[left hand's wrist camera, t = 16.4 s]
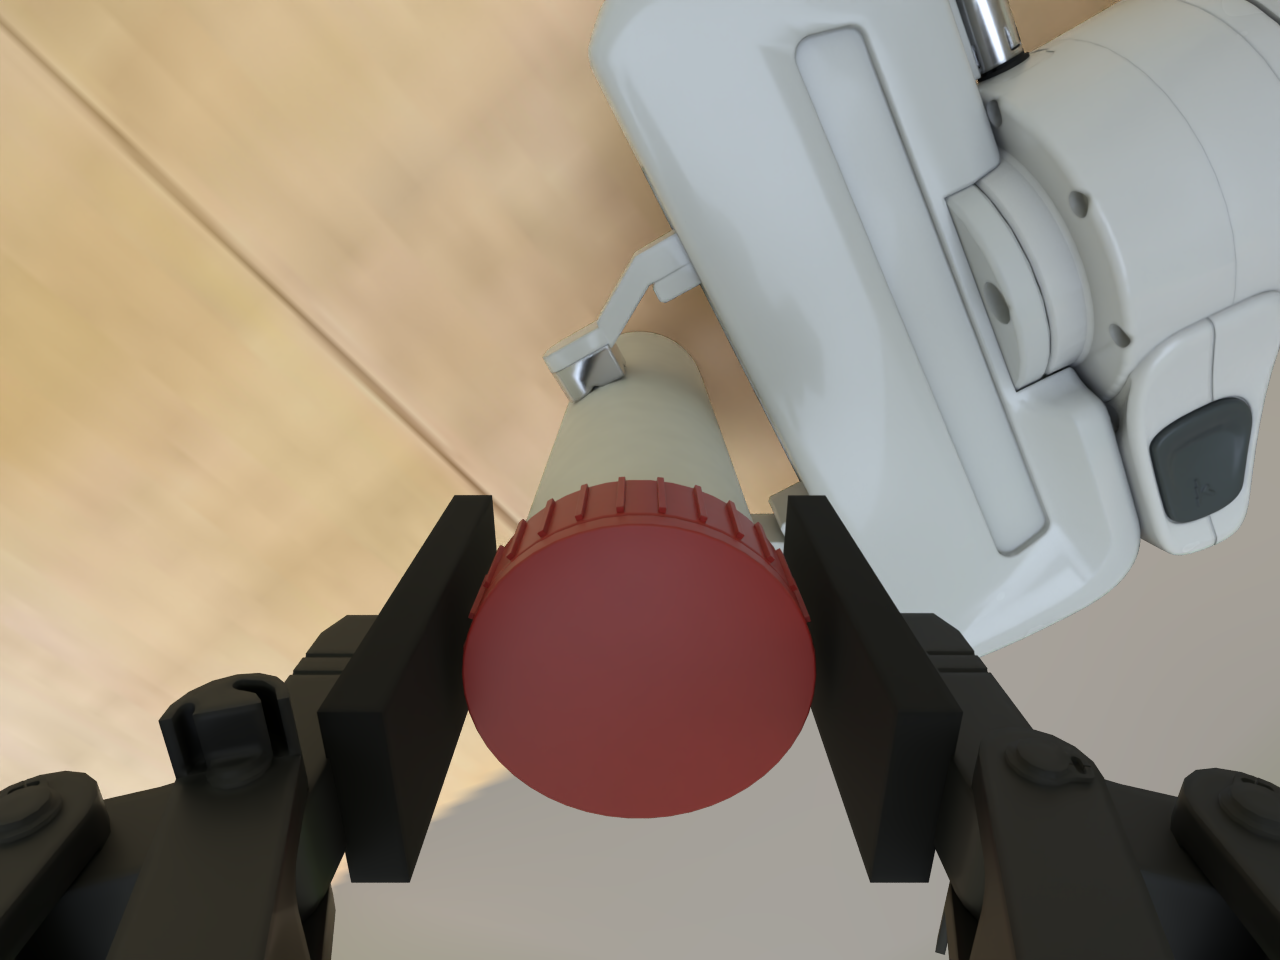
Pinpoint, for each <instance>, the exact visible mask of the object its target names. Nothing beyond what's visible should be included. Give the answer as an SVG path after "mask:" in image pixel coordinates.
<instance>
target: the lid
mask: <svg viewBox="0 0 1280 960" xmlns="http://www.w3.org/2000/svg"><path fill="white" fill-rule="evenodd" d="M468 618H470V619H473V621H472V623H471V626H470V629H469V631H468V634H467V638H466V641H465V643H464V646H463V651H464V652H463V663H462V679H463V688H464V695H465V698H466V702H467V706H468V710H469V713H470V715H471V718H472V720H473V722H474V725H475V727H476V729H477V731H478V733H479V734H480V736H481V738H482V739H483V741H484V742H485V744H486V746H487V747H488V748H489V750H490V751H491V752H492V753H493V754H494V756H495V757H496V758H497V759H498V761H499V762H500V763H501V764H502V765H504V766H505V767H506V768H507V769H508V770H509V771H510V772H511V773H512V774H513V775H514V776H516V777H517V778H518V779H520V780H521V781H522V782H524V783H525V784H526V785H528V786H529V787H531V788H532V789H534V790H536V791H538V792H539V793H541V794H543V795H545V796H546V797H548V798H550V799H553V800H555V801H557V802H560V803H562V804H564V805H567V806H570V807H573V808H576V809H579V810H582V811H585V812H590V813H595V814H599V815H604V816H611V817H621V818H657V817H668V816H674V815H679V814H684V813H689V812H693V811H696V810H699V809H703V808H706V807H709V806H712V805H714V804H717V803H719V802H721V801H724V800H726V799H728V798H730V797H732V796H734V795H736V794H737V793H739V792H741V791H743V790H744V789H746V788H748V787H749V786H751V785H752V784H753V783H755V782H756V781H757V780H759V779H760V778H762V777H763V776H764V775H765V774H766V773H767V772H769V771H770V770H771V769H772V768H773V767H774V766H775V765H776V764H777V763H778V762H779V761H780V760H781V759H782V757H783V756H784V755H785V754H786V752H787V751H788V750H789V749H790V748H791V746H792V744H793V743H794V741H795V740H796V738H797V737H798V735H799V733H800V732H801V730H802V728H803V725H804V723H805V721H806V718H807V716H808V714H809V711H810V707H811V703H812V700H813V696H814V691H815V682H816V657H815V648H814V645H813V641H812V636H811V633H810V631H809V628H808V625H807V622H811V620H810V616H809V614H808V611H807V609H806V606H805V604H804V602H803V599H802V597H801V594H800V592H799V589H798V587H797V584H796V582H795V580H794V578H793V577H792V574H791V572H790V569H789V567H788V564H787V562H786V560H785V557H784V555H783V552H782V551H781V549H780V548H779V549H777V550H775V548H774V547H773V545H772V544H771V543H770V541H769V540H768V539H767V537H766V535H765V532H764V529H763V527H762V525H761V524H760V523H759V522H757V523H756V524H754V523H752V522H751V521H750V520H749V519H748V518H747V517H746V516H744V515H743V514H742V513H740V512H739V511H738V510H736V506H735V503H734V502H732V501H730V500H729V501H728V502H727V503H725V502H723V501H722V500H720V499H718V498H716V497H714V496H712V495H710V494H707V493H705V492H702V489H701V486H698V485H695V486H694V488H691V487H687V486H683V485H679V484H675V483H670V482H664V478H663V477H657V481H654V480H625V477H619V478H618V481H616V482H608V483H603V484H599V485H595V486H591V487H588V484H584V485H581V488H580V490H579V491H576V492H574V493H571V494H569V495H566V496H564V497H562V498H561V499H559V500H557V501H554V499H553V498H552V499H550V500H548V501H547V504H546V507H545V508H544V509H542V510H541V511H539V512H538V513H537V514H535V515H534V516H533V517H531V518H530V519H529V520H528V521H527V522H526V521H525V520H524V519H522V520H521V521H520V522H519V524H518V527H517V529H516V532H515V534H514V536H513V537H512V538H511V539H510V541H509V542H508V543H507V545H506V546H505V547H503V546H502V545H500V546H499V548H498V550H497V552H496V555H495V557H494V559H493V562H492V564H491V567H490V569H489V572H488V574H486V575H485V578H484V580H483V582H482V585H481V587H480V590H479V592H478V594H477V597H476V599H475V602H474V604H473V606H472V609H471V611H470V614H469V617H468Z"/></svg>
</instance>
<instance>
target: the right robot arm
mask: <svg viewBox="0 0 1280 960" xmlns="http://www.w3.org/2000/svg"><path fill="white" fill-rule="evenodd" d="M588 59H589V63H590V67H591V69H592V72H593V74H594V76H595V78H596V80H597V82H598V84H599V86H600V88H601V90H602V92H603V94H604V96H605V98H606V100H607V102H608V104H609V106H610V108H611V110H612V112H613V114H614V116H615V118H616V120H617V122H618V123H619V125H620V127H621V129H622V131H623V133H624V135H625V137H626V139H627V141H628V143H629V145H630V147H631V149H632V151H633V153H634V155H635V157H636V159H637V161H638V163H639V165H640V167H641V169H642V171H643V173H644V175H645V177H646V179H647V181H648V183H649V185H650V187H651V189H652V191H653V193H654V195H655V197H656V198H657V200H658V202H659V204H660V206H661V208H662V210H663V212H664V214H665V216H666V218H667V220H668V222H669V224H670V226H671V228H672V230H671V231H670V232H668V233H666V234H665V235H663V236H661V237H659V238H658V239H656V240H654V241H653V242H651V243H649V244H648V245H646V246H644V247H643V248H641V249H639V250H637V251H636V252H635V253H634V255H633V256H632V258H631V260H630V262H629V263H628V265H627V267H626V269H625V270H624V272H623V274H622V276H621V277H620V279H619V281H618V283H617V284H616V286H615V288H614V289H613V291H612V293H611V295H610V296H609V298H608V300H607V302H606V303H605V305H604V307H603V309H602V310H601V312H600V314H599V317H598V320H596V321H594V322H593V323H591V324H589V325H587V326H586V327H584V328H582V329H580V330H579V331H577V332H575V333H573V334H572V335H570V336H568V337H566V338H565V339H563V340H561V341H559V342H558V343H557V344H555V345H554V346H552V347H551V348H550V349H548V350H547V351H546V353H545V354H544V356H543V359H544V361H545V363H546V365H547V366H548V368H549V370H550V372H551V373H552V374H553V376H554V377H555V379H556V381H557V382H558V384H559V385H560V387H561V388H562V390H563V392H564V393H565V395H566V396H567V398H568V400H569V401H570V402H571V403H573V402H576V401H578V400H581V399H582V398H584V397H586V396H587V395H588V394H590V392H591V390H592V388H593V386H600V387H603V386H605V385H608V384H610V383H612V382H614V381H615V380H617V379H619V378H621V377H623V376H624V375H625V368H624V367H626V361H625V359H624V357H623V355H622V354H621V352H620V350H619V348H618V346H617V344H616V341H617V339H618V337H619V336H620V334H621V332H622V330H623V329H624V327H625V325H626V324H627V322H628V320H629V319H630V317H631V315H632V314H633V312H634V310H635V309H636V307H637V305H638V304H639V302H640V300H641V299H642V297H643V295H644V294H645V292H646V290H647V289H648V287H649V285H651V284H652V285H653V290H654V292H655V294H656V295H657V297H658V299H659V301H660V302H664V303H666V302H668V301H670V300H672V299H674V298H675V297H677V296H679V295H681V294H683V293H685V292H687V291H688V290H690V289H692V288H694V287H696V286H698V285H701V287H702V289H703V291H704V293H705V295H706V297H707V299H708V301H709V303H710V305H711V307H712V309H713V311H714V313H715V315H716V317H717V319H718V321H719V323H720V325H721V327H722V329H723V331H724V333H725V335H726V337H727V339H728V341H729V343H730V345H731V346H732V348H733V350H734V352H735V354H736V356H737V358H738V360H739V362H740V364H741V366H742V368H743V370H744V372H745V374H746V376H747V378H748V380H749V382H750V384H751V386H752V388H753V390H754V392H755V394H756V396H757V398H758V400H759V402H760V404H761V406H762V408H763V410H764V412H765V414H766V416H767V418H768V420H769V421H770V423H771V425H772V427H773V429H774V431H775V433H776V435H777V437H778V439H779V441H780V443H781V445H782V447H783V449H784V451H785V453H786V455H787V457H788V459H789V461H790V463H791V465H792V467H793V469H794V471H795V473H796V475H797V477H798V479H799V481H800V482H798V483H796V484H794V485H792V486H790V487H788V488H786V489H784V490H782V491H780V492H778V493H776V494H774V495H772V496H770V498H769V503H770V506H771V508H772V510H773V512H774V514H750V515H751V518H752V521H753V523H754V524H756V523H757V522H759V523H760V524H761V525H762V527H763V529H764V532H765V535H766V537H767V539H768V540H769V541H770V543H771V544H772V545H773V547H774V548H775V550H777V549H779V548H780V549H781V551H782V552H783V550H784V538H785V525H786V513H787V501H788V495H826V497H827V499H828V500H829V502H830V503H831V505H832V506H833V508H834V510H835V511H836V513H837V514H838V516H839V517H840V519H841V521H842V522H843V524H844V525H845V527H846V528H847V530H848V532H849V533H850V535H851V536H852V538H853V539H854V541H855V543H856V544H857V546H858V547H859V549H860V550H861V552H862V554H863V555H864V557H865V558H866V560H867V561H868V563H869V565H870V566H871V568H872V569H873V571H874V572H875V574H876V576H877V577H878V579H879V580H880V582H881V583H882V585H883V587H884V588H885V590H886V591H887V593H888V594H889V596H890V598H891V599H892V601H893V602H894V604H895V605H896V607H897V609H898V610H899V612H900V613H934V614H936V615H937V616H938V617H940V618H941V619H943V620H944V621H946V622H947V623H949V624H950V625H952V626H953V627H955V628H956V629H957V630H959V631H960V632H961V634H962V635H963V636H964V638H965V639H966V640H967V642H968V643H969V644H970V646H971V647H972V648H973V650H974V653H975V655H978V657H979V658H980V657H982V656H984V655H987V654H989V653H992V652H994V651H997V650H999V649H1001V648H1003V647H1006V646H1008V645H1010V644H1012V643H1015V642H1017V641H1019V640H1021V639H1023V638H1026V637H1028V636H1030V635H1032V634H1034V633H1036V632H1038V631H1040V630H1042V629H1045V628H1047V627H1049V626H1051V625H1053V624H1055V623H1056V622H1058V621H1061V620H1062V619H1064V618H1066V617H1068V616H1070V615H1072V614H1074V613H1076V612H1078V611H1080V610H1081V609H1083V608H1085V607H1087V606H1089V605H1090V604H1092V603H1094V602H1095V601H1097V600H1098V599H1100V598H1101V597H1103V596H1104V595H1105V594H1107V593H1108V592H1109V591H1110V590H1112V589H1113V588H1114V587H1115V586H1116V585H1117V584H1118V583H1119V582H1120V581H1121V580H1122V579H1123V578H1124V577H1125V576H1126V574H1127V573H1128V572H1129V570H1130V568H1131V567H1132V565H1133V564H1134V562H1135V559H1136V557H1137V554H1138V551H1139V547H1140V538H1141V539H1143V540H1145V541H1147V542H1149V543H1150V544H1152V545H1154V546H1156V547H1158V548H1160V549H1162V550H1164V551H1166V552H1168V553H1170V554H1173V555H1187V554H1191V553H1194V552H1198V551H1201V550H1204V549H1206V548H1208V547H1211V546H1213V545H1216V544H1218V543H1220V542H1222V541H1223V540H1225V539H1227V538H1228V537H1230V536H1231V535H1233V534H1234V533H1235V532H1236V531H1237V530H1238V529H1239V527H1240V526H1241V525H1242V523H1243V521H1244V519H1245V516H1246V513H1247V509H1248V504H1249V497H1250V490H1251V482H1252V474H1253V466H1254V459H1255V452H1256V445H1257V439H1258V433H1259V427H1260V421H1261V416H1262V411H1263V406H1264V402H1265V397H1266V393H1267V389H1268V385H1269V381H1270V377H1271V373H1272V370H1273V367H1274V364H1275V361H1276V357H1277V354H1278V351H1279V348H1280V0H1121V1H1119V2H1117V3H1115V4H1114V5H1112V6H1110V7H1108V8H1107V9H1105V10H1103V11H1102V12H1100V13H1098V14H1096V15H1095V16H1093V17H1091V18H1089V19H1088V20H1086V21H1084V22H1082V23H1081V24H1079V25H1077V26H1075V27H1074V28H1072V29H1070V30H1069V31H1067V32H1065V33H1063V34H1062V35H1060V36H1058V37H1056V38H1055V39H1053V40H1051V41H1049V42H1048V43H1046V44H1044V45H1042V46H1040V47H1038V48H1036V49H1035V50H1033V51H1031V52H1027V53H1024V50H1023V48H1022V44H1021V40H1020V37H1019V34H1018V31H1017V28H1016V25H1015V22H1014V19H1013V16H1012V13H1011V9H1010V6H1009V3H1008V0H605V1H604V2H603V4H602V6H601V8H600V11H599V13H598V16H597V19H596V22H595V25H594V29H593V32H592V35H591V39H590V43H589V47H588ZM977 79H978V83H976V81H975V80H977Z"/></svg>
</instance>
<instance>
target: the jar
mask: <svg viewBox="0 0 1280 960" xmlns="http://www.w3.org/2000/svg"><path fill="white" fill-rule="evenodd" d="M616 344H617V346H618V348H619V350H620V352H621V354H622V355H623V357H624V359H625V361H626V367H624V368H625V375H624V376H623V377H621V378H619V379H617V380H615V381H614V382H612V383H610V384H608V385H605V386H603V387H600V386H593V388H592V390H591V392H590V394H588V395H587V396H586V397H584V398H582V399H581V400H578V401H576V402H573V403H571V402H570V401H569V404H568V406H567V409H566V412H565V415H564V417H563V420H562V423H561V426H560V429H559V431H558V434H557V437H556V440H555V443H554V445H553V448H552V451H551V454H550V456H549V459H548V462H547V465H546V468H545V470H544V473H543V476H542V479H541V481H540V484H539V487H538V490H537V493H536V495H535V498H534V501H533V504H532V507H531V509H530V512H529V515H528V518H527V520H526V522H527V521H528V520H529V519H530V518H531V517H533V516H534V515H535V514H537V513H538V512H539V511H541V510H542V509H544V508H545V507H546V504H547V501H548V500H550V499H552V498H553V499H554V501H557V500H559V499H561V498H562V497H564V496H566V495H569V494H571V493H574V492H576V491H579V490H580V488H581V485H584V484H588V487H591V486H595V485H599V484H603V483H608V482H616V481H618V478H619V477H625V480H654V481H657V477H663V478H664V482H670V483H675V484H679V485H683V486H687V487H691V488H694V486H695V485H698V486H701V489H702V492H705V493H707V494H710V495H712V496H714V497H716V498H718V499H720V500H722V501H723V502H725V503H727V502H728V501H729V500H730V501H732V502H734V503H735V506H736V510H738V511H739V512H740V513H742V514H743V515H744V516H746V517H747V518H748V519H749V520H750V521H751V522H752V523H753V521H752V518H751V515H750V512H749V510H748V507H747V504H746V501H745V498H744V495H743V493H742V490H741V487H740V484H739V481H738V479H737V476H736V473H735V470H734V467H733V464H732V462H731V459H730V456H729V453H728V450H727V448H726V445H725V442H724V439H723V436H722V433H721V431H720V428H719V425H718V422H717V419H716V417H715V414H714V411H713V408H712V405H711V402H710V400H709V397H708V394H707V391H706V388H705V386H704V383H703V380H702V377H701V374H700V372H699V369H698V367H697V365H696V363H695V362H694V360H693V359H692V357H691V356H690V355H689V353H688V352H687V351H686V350H685V349H684V348H683V347H681V346H680V345H679V344H677V343H676V342H674V341H673V340H671V339H669V338H667V337H665V336H662V335H659V334H655V333H651V332H629V333H624V334H620V336H619V337H618V339H617V341H616Z"/></svg>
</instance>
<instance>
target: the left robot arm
mask: <svg viewBox="0 0 1280 960" xmlns="http://www.w3.org/2000/svg"><path fill="white" fill-rule="evenodd" d="M496 552H497V550H496V538H495V526H494V513H493V501H492V495H454V497H453V499H452V500H451V502H450V503H449V505H448V506H447V508H446V510H445V511H444V513H443V514H442V516H441V517H440V519H439V521H438V522H437V524H436V525H435V527H434V528H433V530H432V532H431V533H430V535H429V536H428V538H427V539H426V541H425V543H424V544H423V546H422V547H421V549H420V550H419V552H418V554H417V555H416V557H415V558H414V560H413V561H412V563H411V565H410V566H409V568H408V569H407V571H406V572H405V574H404V576H403V577H402V579H401V580H400V582H399V583H398V585H397V587H396V588H395V590H394V591H393V593H392V594H391V596H390V598H389V599H388V601H387V602H386V604H385V605H384V607H383V609H382V610H381V612H380V613H379V615H346V616H345V617H344V618H342V619H341V620H339V621H338V622H336V623H335V624H333V625H332V626H331V627H329V628H328V629H326V630H325V631H323V632H322V633H321V634H320V635H319V637H318V638H317V639H316V641H315V642H314V643H313V645H312V646H311V647H310V649H309V650H308V651H307V653H306V657H305V658H302V659H301V661H300V662H299V664H298V665H297V666H296V668H295V669H294V670H293V675H290V676H289V677H288V678H287V680H286V681H285V682H283V681H281V680H280V679H279V678H278V677H276V676H271V675H266V674H261V673H252V674H237V675H233V676H229V677H226V678H222V679H218V680H214V681H211V682H209V683H207V684H205V685H203V686H201V687H198V688H196V689H194V690H192V691H190V692H188V693H187V694H185V695H184V696H183V697H181V698H180V699H179V700H177V701H176V702H174V703H173V704H172V705H170V706H169V708H168V709H167V710H166V712H165V713H164V714H163V716H162V717H161V718H160V719H159V724H160V727H161V731H162V734H163V737H164V740H165V744H166V747H167V750H168V754H169V757H170V760H171V763H172V767H173V770H174V773H175V777H176V781H175V783H172V784H168V785H165V786H162V787H158V788H153V789H149V790H144V791H140V792H136V793H131V794H127V795H122V796H118V797H114V798H109V799H105V800H103V798H102V795H101V793H100V790H99V787H98V784H97V781H95V780H94V779H93V778H91V777H90V776H89V775H87V774H86V773H81V772H72V771H61V772H55V773H49V774H43V775H39V776H36V777H33V778H30V779H27V780H25V781H21V782H19V783H16V784H14V785H11V786H9V787H7V788H5V789H3V790H2V791H0V960H331V953H332V942H333V932H334V921H335V904H334V898H333V892H332V888H331V881H332V879H333V877H334V874H335V872H336V870H337V868H338V866H339V863H340V861H341V859H342V857H343V855H344V853H345V854H346V859H347V863H348V868H349V873H350V878H351V882H352V883H387V882H388V883H409V882H410V880H411V877H412V874H413V871H414V868H415V865H416V862H417V859H418V856H419V853H420V850H421V848H422V845H423V842H424V839H425V836H426V833H427V830H428V827H429V824H430V821H431V818H432V815H433V812H434V809H435V806H436V803H437V801H438V798H439V795H440V792H441V789H442V786H443V783H444V780H445V777H446V774H447V771H448V768H449V765H450V762H451V759H452V756H453V753H454V750H455V747H456V745H457V742H458V739H459V736H460V733H461V730H462V727H463V724H464V721H465V718H466V715H467V712H468V706H467V702H466V698H465V695H464V688H463V679H462V663H463V652H464V651H463V646H464V643H465V641H466V638H467V634H468V631H469V629H470V626H471V623H472V621H473V619H470V618H468V617H469V614H470V611H471V609H472V606H473V604H474V602H475V599H476V597H477V594H478V592H479V590H480V587H481V585H482V582H483V580H484V578H485V575H486V574H488V572H489V569H490V567H491V564H492V562H493V559H494V557H495V555H496ZM783 555H784V557H785V560H786V562H787V564H788V567H789V569H790V572H791V574H792V577H793V578H794V580H795V582H796V584H797V587H798V589H799V592H800V594H801V597H802V599H803V602H804V604H805V606H806V609H807V611H808V614H809V616H810V620H811V622H807V625H808V628H809V631H810V633H811V636H812V641H813V645H814V648H815V657H816V682H815V691H814V696H813V700H812V703H811V709H812V712H813V715H814V718H815V721H816V724H817V727H818V730H819V733H820V736H821V739H822V741H823V744H824V747H825V750H826V753H827V756H828V759H829V762H830V765H831V768H832V771H833V774H834V777H835V780H836V783H837V786H838V789H839V792H840V795H841V798H842V801H843V803H844V806H845V809H846V812H847V815H848V818H849V821H850V824H851V827H852V830H853V833H854V836H855V839H856V842H857V845H858V847H859V851H860V854H861V857H862V859H863V862H864V865H865V868H866V871H867V874H868V877H869V880H870V882H871V883H928V882H929V878H930V873H931V868H932V863H933V858H934V853H935V849H936V851H937V853H938V856H939V858H940V860H941V862H942V864H943V866H944V869H945V871H946V873H947V875H948V877H949V880H950V883H949V888H948V892H947V897H946V902H945V906H944V911H943V915H942V920H941V925H940V929H939V934H938V939H937V945H936V951H935V952H937V953H940V954H944V955H945V951H946V947H947V943H948V951H949V960H1280V787H1278V786H1276V785H1274V784H1272V783H1270V782H1268V781H1265V780H1263V779H1260V778H1256V777H1254V776H1251V775H1248V774H1245V773H1242V772H1238V771H1231V770H1225V769H1219V768H1210V769H1201V770H1195V771H1194V772H1193V773H1191V774H1190V775H1188V776H1187V777H1186V778H1185V779H1184V782H1183V784H1182V787H1181V790H1180V793H1179V795H1178V797H1175V796H1171V795H1166V794H1162V793H1158V792H1153V791H1149V790H1144V789H1140V788H1135V787H1131V786H1126V785H1122V784H1118V783H1115V782H1112V781H1108V780H1105V779H1104V777H1103V776H1102V774H1101V773H1100V771H1099V770H1098V768H1097V767H1096V765H1095V764H1094V762H1093V761H1092V760H1090V759H1089V758H1088V757H1087V756H1086V755H1084V754H1083V753H1082V752H1081V751H1080V750H1078V749H1077V748H1076V747H1075V746H1073V745H1071V744H1069V743H1067V742H1065V741H1063V740H1061V739H1059V738H1057V737H1055V736H1053V735H1050V734H1047V733H1044V732H1040V731H1037V730H1033V729H1032V727H1031V726H1030V725H1029V723H1028V722H1027V721H1026V719H1025V718H1024V717H1023V715H1022V714H1021V713H1020V711H1019V710H1018V709H1017V707H1016V706H1015V705H1014V703H1013V702H1012V701H1011V699H1010V698H1009V697H1008V695H1007V694H1006V693H1005V691H1004V690H1003V689H1002V687H1001V686H1000V685H999V683H998V682H997V681H996V679H995V678H994V677H993V675H992V674H991V673H988V672H987V667H986V666H985V665H984V663H983V662H982V661H981V659H980V658H979V657H978V655H975V653H974V650H973V648H972V647H971V646H970V644H969V643H968V642H967V640H966V639H965V638H964V636H963V635H962V634H961V632H960V631H959V630H957V629H956V628H955V627H953V626H952V625H950V624H949V623H947V622H946V621H944V620H943V619H941V618H940V617H938V616H937V615H936V614H934V613H900V612H899V610H898V609H897V607H896V605H895V604H894V602H893V601H892V599H891V598H890V596H889V594H888V593H887V591H886V590H885V588H884V587H883V585H882V583H881V582H880V580H879V579H878V577H877V576H876V574H875V572H874V571H873V569H872V568H871V566H870V565H869V563H868V561H867V560H866V558H865V557H864V555H863V554H862V552H861V550H860V549H859V547H858V546H857V544H856V543H855V541H854V539H853V538H852V536H851V535H850V533H849V532H848V530H847V528H846V527H845V525H844V524H843V522H842V521H841V519H840V517H839V516H838V514H837V513H836V511H835V510H834V508H833V506H832V505H831V503H830V502H829V500H828V499H827V497H826V495H788V501H787V513H786V525H785V538H784V550H783Z"/></svg>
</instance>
